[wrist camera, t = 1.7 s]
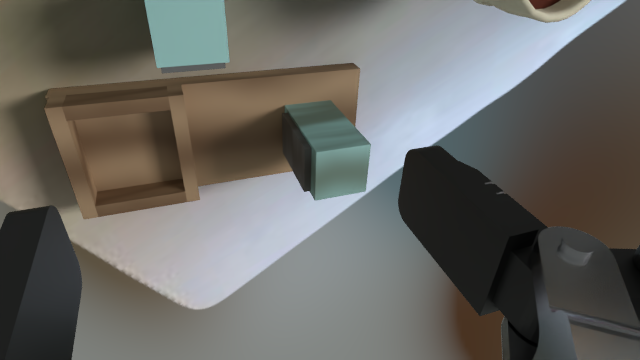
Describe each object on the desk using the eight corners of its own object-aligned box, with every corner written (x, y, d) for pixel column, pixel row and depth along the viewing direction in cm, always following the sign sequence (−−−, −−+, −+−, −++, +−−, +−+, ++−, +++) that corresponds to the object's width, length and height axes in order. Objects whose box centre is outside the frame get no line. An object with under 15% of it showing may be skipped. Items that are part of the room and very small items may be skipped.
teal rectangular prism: (142, -33, 27) (142, -11, 21) (204, -33, 29) (222, -13, 22) (154, 38, 30) (158, 76, 24) (212, 34, 31) (230, 70, 25)
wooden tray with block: (48, 88, 29) (18, 155, 22) (352, 62, 36) (407, 107, 29) (84, 193, 34) (69, 277, 27) (346, 154, 41) (391, 211, 34)
